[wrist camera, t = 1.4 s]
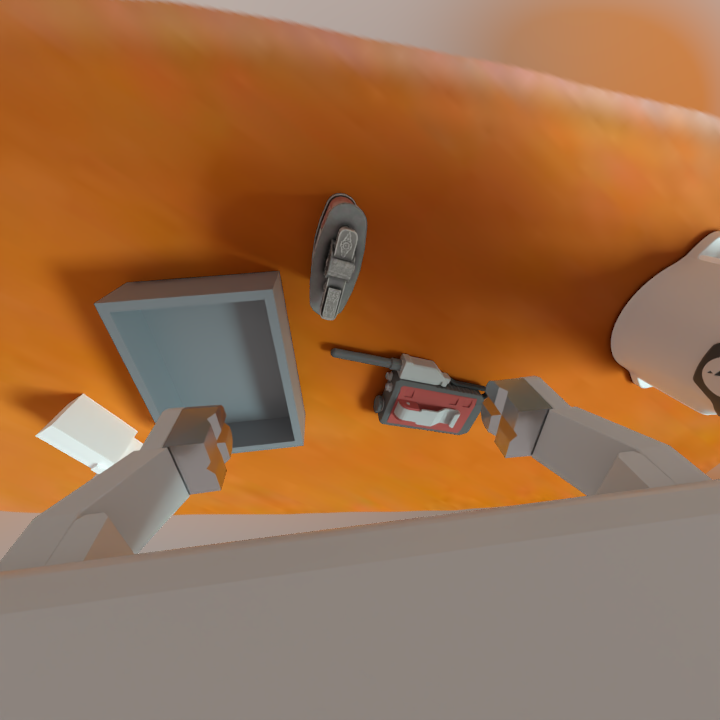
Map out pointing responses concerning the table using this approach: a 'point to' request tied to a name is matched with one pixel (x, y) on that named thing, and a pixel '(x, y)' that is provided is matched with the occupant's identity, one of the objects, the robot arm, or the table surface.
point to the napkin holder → (90, 434)
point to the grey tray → (213, 351)
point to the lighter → (336, 255)
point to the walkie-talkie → (422, 394)
